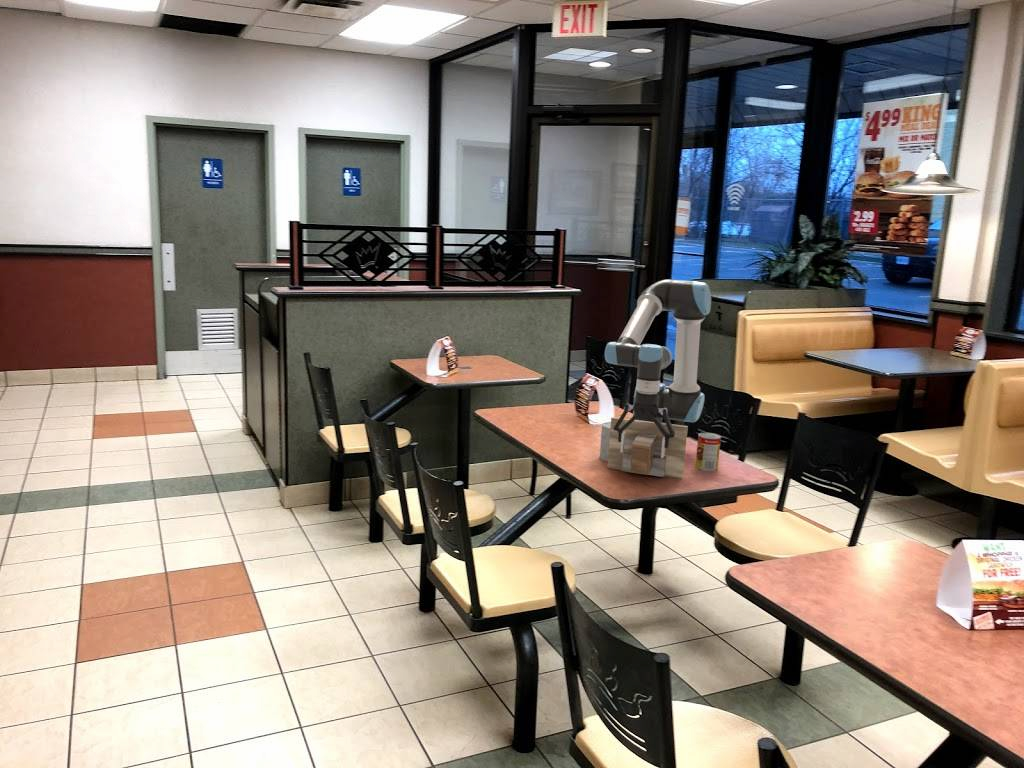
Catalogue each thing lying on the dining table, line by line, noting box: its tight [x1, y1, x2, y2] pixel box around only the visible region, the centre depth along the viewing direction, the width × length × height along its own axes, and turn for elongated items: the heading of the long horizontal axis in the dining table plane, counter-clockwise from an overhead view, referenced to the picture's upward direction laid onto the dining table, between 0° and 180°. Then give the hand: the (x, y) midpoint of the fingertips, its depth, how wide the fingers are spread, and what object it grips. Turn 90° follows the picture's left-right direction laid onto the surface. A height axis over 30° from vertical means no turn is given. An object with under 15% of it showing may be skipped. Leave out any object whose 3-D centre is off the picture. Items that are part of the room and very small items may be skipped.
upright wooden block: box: [629, 434, 656, 476], centre depth 278 cm, size 13×6×10 cm, turn 162°
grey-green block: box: [598, 421, 611, 462], centre depth 302 cm, size 10×10×12 cm
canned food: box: [694, 432, 722, 472], centre depth 295 cm, size 8×8×12 cm
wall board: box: [607, 416, 689, 479], centre depth 284 cm, size 6×26×18 cm, turn 72°
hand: (642, 454), depth 276 cm, fingers open, 13 cm apart
